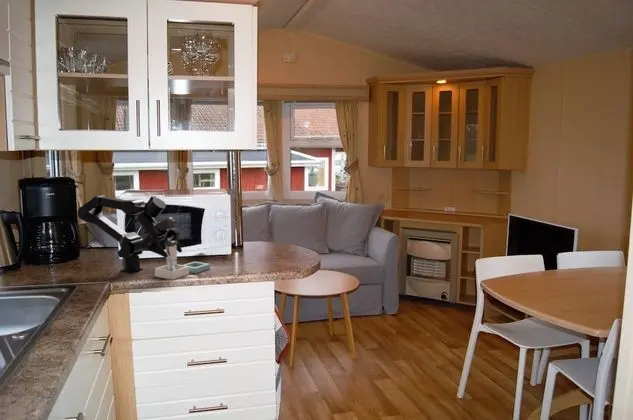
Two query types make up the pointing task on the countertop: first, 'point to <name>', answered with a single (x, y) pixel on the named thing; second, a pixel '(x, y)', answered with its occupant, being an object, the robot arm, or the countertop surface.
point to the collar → (197, 266)
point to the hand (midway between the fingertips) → (174, 254)
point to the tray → (171, 272)
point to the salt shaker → (171, 255)
